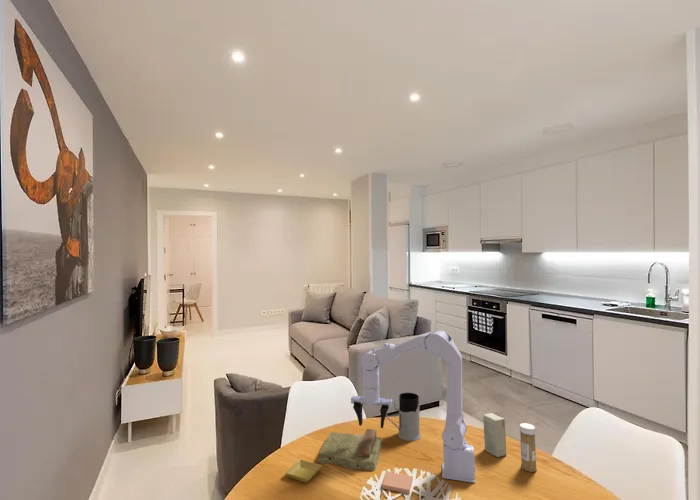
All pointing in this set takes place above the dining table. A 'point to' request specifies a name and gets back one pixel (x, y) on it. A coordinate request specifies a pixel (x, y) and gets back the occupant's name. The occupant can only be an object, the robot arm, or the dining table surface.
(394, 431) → the dining table surface
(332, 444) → the decorative tile
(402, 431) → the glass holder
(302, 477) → the saucer
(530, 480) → the dining table surface
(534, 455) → the sprinkles bottle
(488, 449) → the skincare box
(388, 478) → the glazed tile
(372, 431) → the walnut stick
